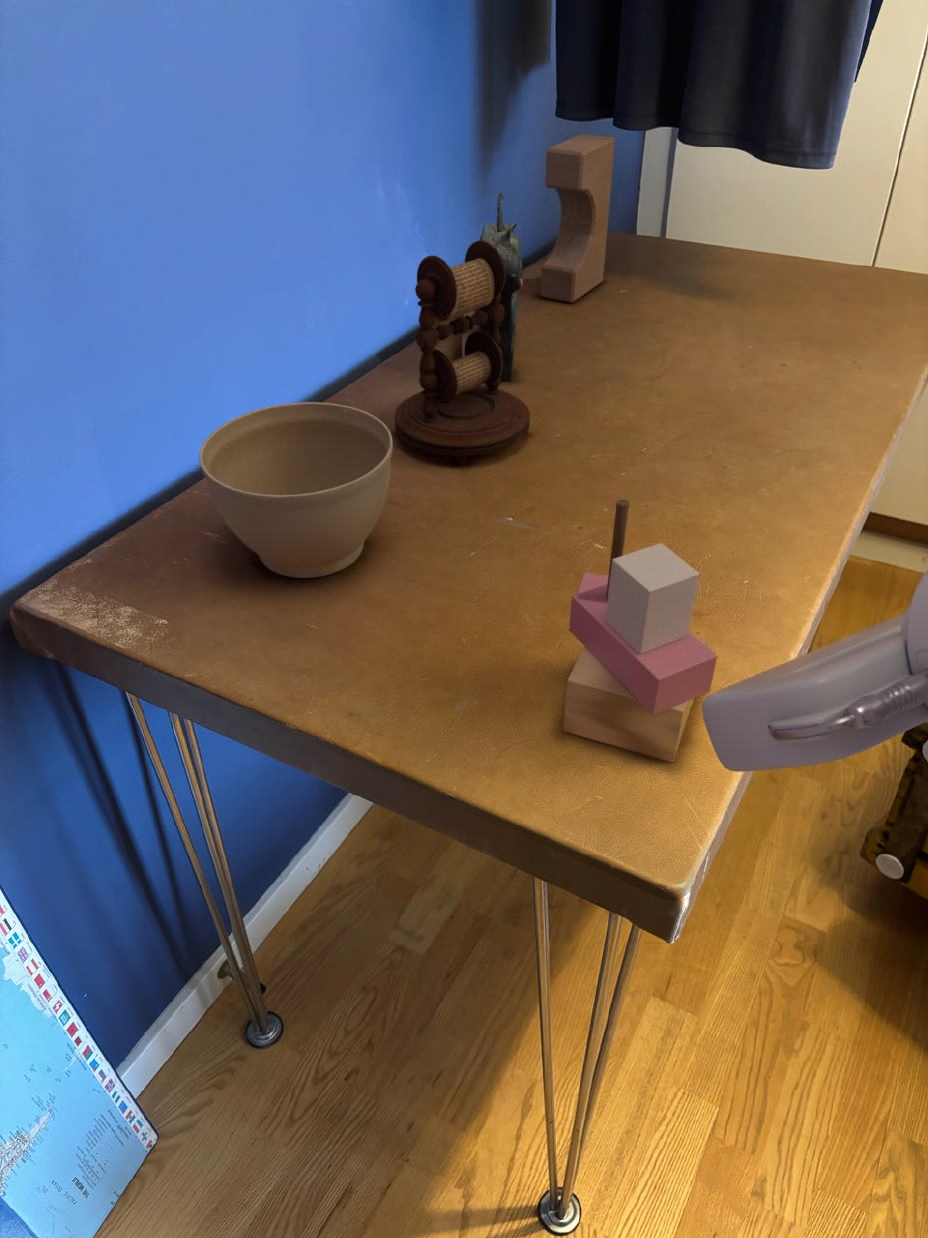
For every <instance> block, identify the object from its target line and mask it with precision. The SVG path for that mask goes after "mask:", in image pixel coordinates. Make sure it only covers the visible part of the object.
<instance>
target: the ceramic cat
mask: <svg viewBox="0 0 928 1238" xmlns="http://www.w3.org/2000/svg"><path fill="white" fill-rule="evenodd" d="M504 196H505V194H504V192H502V193H501V192H500V193H498V199H497V203H496V204H497V205H496V206H497V207H496V213H497V216H496V223H489V222H487V223H485V224H484V226H483V228H482V231H481V235H480V237H479V240H478V241H480V240H482V241H487V242H489V243H490V244H492V245H493V246H494V247H495V248H496V249H497V251H498V252H499V254H500V256H501V258H502V260H503V263H504V267H505V283H504V287H503V289H502V291H501V299H500V301H499V302H498V303H500V304H501V305H502V306H503V308H504V312H505V314H504V317H503V319H502V321H501V322H500V323H501V324H500V326H498V331H499V334H500V342H499V344H498V347H499V348H500V349H501V351H502V361H503V368H502V373H501V376H500V380H501V382H511V381H512V379H513V367H514V356H515V342H516V341H515V340H516V322H517V304H518V291H520V290H522V289H523V287H524V282H523V276H524V274H523V273H524V272H523V263H522V261H523V260H522V249H521V248H522V247H521V237H520V236H519V235H518V234H516V233H513V232H514V229H516V228H517V224H518V222H515V223H513V224H511V225H510V224H509V223H503V221H504V219H503V210H502V205H503V204H502V202H503V199H504ZM474 242H475V241H473V242H472V244H473V243H474ZM483 309H484V307H481V308H479V309H476V310H473V311H474V313H476V312H478V311H483ZM486 323H487V322H486ZM486 323H485V324H484V325H481V326H477V328H478V330H477V331H481V332H484V333H487V334H488V330H489V326H487V324H486Z"/></svg>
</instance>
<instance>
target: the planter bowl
mask: <svg viewBox="0 0 928 1238" xmlns="http://www.w3.org/2000/svg"><path fill="white" fill-rule="evenodd" d="M393 446H394V443H393V436H392V433H391V431H390V429H389V428H388V427H387V425H386V424H385V423H384V422H383V421H381V420H380V418H378V417H376V416H375V415H373V414H371V413H369V412H367V411H365V410H362V409H359V408H356V407H352V406H348V405H343V404H339V403H333V402H332V403H331V402H318V401H302V402H290V403H284V404H276V405H271V406H265V407H262V408H257V409H256V410H252V411H249V412H246V413H243V414H241V415H238V416H236V417H234V418H233V419H230V420H229V421H227V422H226V423H224V424H222V425H221V426H218V428H216V429H215V430H214V431H212V432H211V433H210V434H209V435H208V436H207V438H205V440H204V442H203V443H202V445H201V447H200V450H199V454H198V461H199V466H200V470H201V472H202V474H203V476H204V478H205V480H206V482H207V485H208V489H209V492H210V495H211V497H212V500H213V502H214V505H215V506H216V509H217V511H218V513H219V514H220V517H222V519H223V521H224V522H225V524H226V525H227V526H228V528H229V529H230V531H232V532H233V534H234V535H235V536H236V537H237V538H238V539H239V540H240V541H241V542H242V543H243V544H244V545H245V546H246V547H248V549H250V550H251V551H252V552H254V553H255V554H257V555H258V557H259V559H260V561H261V563H262V564H263V565H264V566H265V567H266V568H267V569H269V570H270V571H272V572H273V573H275V574H278V575H281V576H285V577H289V578H295V579H314V578H320V577H326V576H328V575H329V576H330V575H332V574H335V573H338V572H340V571H342V570H344V569H346V568H347V567H349V566H350V565H352V564H353V563H355V561H356V560H357V559H358V558H359V556H361V554H362V551H363V549H364V545H365V541H366V540H367V538H368V537H369V536H370V534H371V533H372V531H373V530H374V528H375V527H376V525H377V524H378V521H379V519H380V517H381V514H382V512H383V509H384V507H385V504H386V501H387V497H388V493H389V487H390V482H391V469H392V468H391V467H392V466H391V465H392V464H391V463H392V462H391V460H392V456H393V450H394V449H393V448H394V447H393Z"/></svg>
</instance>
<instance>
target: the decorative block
mask: <svg viewBox="0 0 928 1238" xmlns="http://www.w3.org/2000/svg"><path fill="white" fill-rule="evenodd" d="M615 144H616V140H615V138H614V137H613V136H604V135H603V136H602V135H595V134H594V135H592V134H586V133H585V134H584V133H580V134H579V135H577V136H574V137H572V138H569V139H567V140H565V141H563V142H560V143H558V144H556V145H553V146H551V147H549V148H548V149H547V150H546V154H545V155H546V156H545V178H544V185H545V187H546V188H548V189H554V190H555V191H556V193H557V195H558V200H559V202H560V221H559V229H558V233H557V236H556V240H555V244H554V246H553V248H552V250H551V252H550V255H549V257H548V259H546V261H545V262H544V263H543V264H541V268H540V269H541V270H540V291H539V293H540V295H539V296H541V298H542V299H547V300H552V301H558V302H563V303H568V304H573V303H574V302H576V301H577V300H579V299H580V298H581V297H583V296H584V295H585V294H587V293H588V292H589V291H591V290H592V289H594V288H595V287H596V286H598V285H599V284H601V283H602V282H603V281H604V273H605V263H606V261H605V260H606V252H607V251H606V249H607V238H608V228H609V227H608V226H609V214H610V204H611V192H612V182H613V181H612V180H613V170H614V169H613V168H614V155H615Z"/></svg>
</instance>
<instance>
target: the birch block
mask: <svg viewBox="0 0 928 1238" xmlns="http://www.w3.org/2000/svg"><path fill="white" fill-rule="evenodd" d="M695 637H696V638H697V639H698V640H700V641H701V642H702V643H703V644H704V645H705V646H706V647H707V645H708V638H703V637H700V636H695ZM569 674H570V675H569V676H568V678H567V680H566V691H565V692H566V693H565V703H564V704H565V705H564V716H563V727H562V728H563V729H562V731H563V732H565V733H569V734H571V735H576V736H579V737H583V738H586V739H589V740H593V741H596V742H600V743H603V744H606V745H610V746H614V747H618V748H620V749H623V750H627V751H630V752H634V753H638V754H641V755H644V756H648V757H651V758H654V759H658V760H662V761H665V762H667V763H668V762H669V763H674V762H675V760H676V756H677V753H678V750H679V747H680V744H681V740H682V737H683V734H684V732H685V729H686V725H687V723H688V720H689V716H690V713H691V711H692V708H693V704H694V701H695V698H693V699H691V700H688V701H686V702H683V703H681V704H679V705H676V706H674V707H671V708H669V709H667V710H664V711H662V712H660V713H657V714H655V715H652V714H651V713H650V712H649V711H648V710H647V709H646V708H645V707H644V706H643V705H642V704H641V703H640V702H639V701H638V700H637V699H636V698H635V697H634V696H633V695H632V694H631V693H630V692H629V691H628V690H627V689H626V688H625V687H624V686H623V685H622V684H621V683H620V682H619V681H618V680H617V679H616V678H615V677H614V676H613V675H612V673H611V672H610V671H609V670H608V669H607V668H606V667H605V666H604V665H603V664H602V663H601V662H600V661H599V660H598V659H597V658H596V657H595V656H594V655H593V654H592V653H591V652H590V651H589V650H588V649H587V648H586V647H585V646H584V645H583V647H582V649H581V652H580V654H579V655H578V658H577V660H576V662H575V663H574V666H573V668H572V669H571V672H570V673H569Z"/></svg>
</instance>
